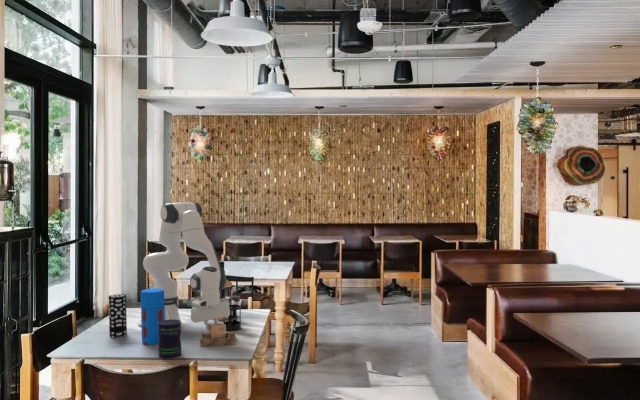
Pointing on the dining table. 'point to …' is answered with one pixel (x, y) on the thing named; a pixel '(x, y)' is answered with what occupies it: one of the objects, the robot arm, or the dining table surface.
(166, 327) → the storage jar
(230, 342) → the brown block arch
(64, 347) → the dining table surface
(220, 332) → the tan rounded piece
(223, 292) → the whiskey bottle
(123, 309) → the white-spotted black cylinder
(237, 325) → the french press
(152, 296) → the thermos
